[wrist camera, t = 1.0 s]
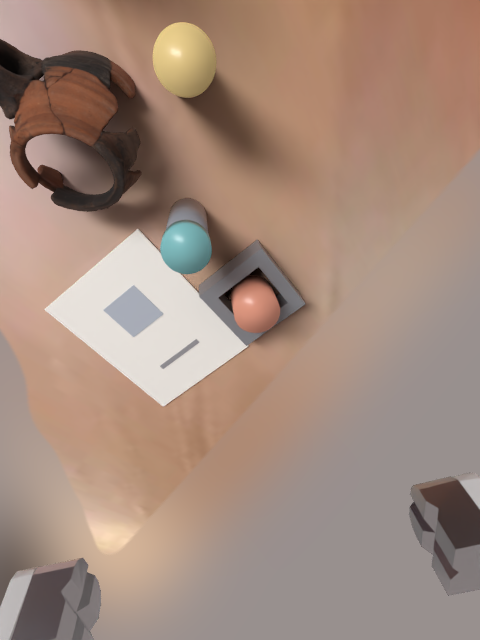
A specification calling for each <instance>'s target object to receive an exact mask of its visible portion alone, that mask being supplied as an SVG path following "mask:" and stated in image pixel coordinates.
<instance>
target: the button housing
mask: <svg viewBox="0 0 480 640" xmlns="http://www.w3.org/2000/svg"><path fill="white" fill-rule="evenodd" d="M258 267H259V268H260V269H261V270H262V272H263V273H264V274H265V275H266V277H267V278H268V279H269V280H270V281H271V283H272V284H273V285H274V286H275V288H276V289H277V290H278V291H279V292H280V294H279V295H277V296H276V298H277V301H278V303H279V306H280V316H279V319H278V321H277V322H276V324H275V325H277V324H278V323H280V322H281V321H282V320H284V319H285V318H287V317H288V316H289V315H291V314H292V313H294V312H295V311H296V310H298V309H299V308H301V307H302V306H303V305H305V302H304V300H303V299H302V297H301V295H300V293H299V292H298V290H297V289H296V288H295V287H294V285H293V284H292V283H291V282H290V280H289V279H288V278H287V276H286V275H285V274H284V273H283V271H282V270H281V269H280V268H279V266H278V265H277V264H276V262H275V261H274V260H273V259H272V257H271V256H270V255H269V254H268V252H267V251H266V250H265V248H264V247H263V246H262V245H261V243H260V242H259V241H258V240H256V241H255V242H254V243H252V244H251V245H250V246H249V247H247V248H246V249H245V250H243V251H242V252H241V253H240V254H238V255H237V256H236V257H235V258H233V259H232V260H231V261H229V262H228V263H227V264H226V265H224V266H223V267H222V268H220V269H219V270H218V271H217V272H215V273H214V274H213V275H211V276H210V277H209V278H208V279H206V280H205V281H204V282H203V283H201V284H200V285H199V297H200V298H201V299H202V300H203V301H204V302H205V303H206V304H207V305H208V306H209V307H210V308H211V310H212V311H213V312H214V313H215V314H216V315H217V316H218V317H219V318H220V319H221V320H222V321H223V322H224V323H225V324H226V325H227V326H228V327H229V328H230V329H231V331H232V332H233V333H234V334H235V335H236V336H237V337H238V338H239V339H240V340H241V341H242V342H243V343H244V344H245V345H246V346H247V345H249V344H250V343H251V342H253V341H254V340H256V339H257V338H258V337H260V336H261V335H263V334H264V333H265V332H267V331H268V330H267V331H264V332H261V333H250V332H247V331H245V330H243V329H241V328H240V327H239V326H238V325H237V323H236V321H235V318H234V313H233V307H232V303H231V302H230V301H229V300H228V299H227V297H226V296H225V295H224V293H225V292H226V291H228V290H229V289H230V288H232V287H233V286H234V285H236V284H237V283H238V282H240V281H241V280H242V279H243V278H245V277H246V276H247V275H249V274H250V273H251V272H253V271H254V270H255V269H257V268H258ZM275 325H274V326H275ZM274 326H273V327H274ZM270 329H271V328H270ZM270 329H269V330H270Z"/></svg>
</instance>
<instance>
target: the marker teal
mask: <svg viewBox="0 0 480 640" xmlns="http://www.w3.org/2000/svg"><path fill="white" fill-rule="evenodd" d="M160 249H161V256H162V258H163V261H164V262H165V264H166V265H167V266H168V267H169V268H170V269H172V270H173V271H175V272H178V273H181V274H192V273H196V272H198V271H200V270H202V269H203V268H204V267H205V266H206V265H207V264H208V262H209V260H210V258H211V253H212V248H211V240H210V236H209V234H208V225H207V216H206V211H205V209H204V207H203V206H202V204H201V203H199V202H198V201H197V200H194V199H191V198H184V199H180V200H178V201H177V202H175V203H174V205H173V206H172V208H171V210H170V214H169V218H168V222H167V227H166V230H165V232H164V234H163V238H162V242H161V248H160Z"/></svg>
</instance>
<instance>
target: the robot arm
mask: <svg viewBox="0 0 480 640" xmlns="http://www.w3.org/2000/svg"><path fill="white" fill-rule="evenodd" d="M410 495H411V497H412V499H413V501H414V502H413V503H412V504H411V506H410V512H409V515H410V520H411V523H412V527H413V530H414V532H415V535H416V537H417V539H418V541H419V543H420V545H421V547H423V548H424V549H426V550H427V551H428V552H430V553H431V554H433V559H432V567H433V569H434V571H435V573H436V574H437V576H438V578H439V580H440V582H441V584H442V586H443V587H444V589H445V591H446V593H447V595H448V596H449V595H454V594H459V593H465V592H470V591H475V590H480V477H479V476H478V475H477V474H475V473H466V474H462V475H458V476H453V477H446V478H442V479H438V480H434V481H429V482H425V483H421V484H417V485H413V486H412V488H411V493H410ZM87 569H88V564H87V563H86V561H85V560H84V559H83V558H79V559H74V560H70V561H65V562H60V563H55V564H51V565H46V566H40V567H35V568H30V569H27V570H21V571H17V572H16V574H15V575H14V576H13V578H12V579H11V581H10V584H9V586H8V589H7V591H6V594H5V596H4V599H3V602H2V604H1V607H0V640H94V639H93V637H92V634H91V632H90V630H91V629H92V627H93V626H94V624H95V623H96V621H97V620H98V618H99V612H100V606H101V590H100V586H99V582H98V580H97V578H96V577H95V575H92V574H90V573H88V572H87Z"/></svg>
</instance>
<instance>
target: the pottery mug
mask: <svg viewBox="0 0 480 640" xmlns="http://www.w3.org/2000/svg"><path fill="white" fill-rule="evenodd" d="M43 76H44V81H40V80H39V79H40V78H41V77H43ZM110 80H112V81H113V82H114V83H115V84H116V85H117V86H118V87H119V88H120V89H121V90H122V91H123V92H124V93H125V94H126V95H127V96H128V97H129V98H133V97H134V96H135V84H134V82H133V80H132V79H131V78H130V76H129V75H128V74H127V73H126V72H125V71H124V70H123V69H122V68H121V67H119V66H118V65H117V64H115V63H114V62H112V61H110V60H109V59H108V58H106V57H104V56H101V55H99V54H96V53H93V52H88V51H71V52H68V53H65V54H63V55H60V56H53V57H50V58H45V59H44V60H43V61H42V60H41V59H38V58H34V57H31V56H29V55H27V54H25V53H23V52H21V51H19V50H18V49H17V48H15V47H14V46H12V45H10V44H9V43H7V42H5V41H3V40H1V39H0V106H1V108H2V109H3V112H4V114H5V116H6V117H7V118H9V119H13V118H15V119H14V123H15V127H14V126H9V132H10V137H11V144H10V156H11V160H12V164H13V165H14V167H15V170H16V171H17V173H18V175H19V176H20V177H21V179H22V180H23V181H24V182H25V183H26V184H27V185H28V186H29V187H30V188H32V189H33V188H35V187H37V185H38V183H40V184H41V185H43V186H44V187H45V188H47V189H49V190H51V191H53V192H54V193H53V194H52V195H51V199H52V201H53V202H54V203H55V204H56V205H58V206H61V207H64V208H68V209H73V210H77V211H87V212H88V211H96V210H98V209H100V210H101V209H105V208H108V207H110V206H111V205H113V204H115V203H116V202H118V201H119V199H120V198H121V196H122V194H123V193H125V192H126V191H127V190H128V189H129V188H130V187H131V186H132V185H133V184H134V183H135V182H136V181H137V180H138V178H139V177H140V175H141V174H142V172H141V171H140V170H137V171H134V172H133V171H129V169H130V168H131V167H132V166H133V164H134V162H135V160H136V157H137V149H138V148H139V146H140V139H139V136H138V133H137V131H136V129H135V128H131V129H129V130H128V131H127V132H126V133H111V132H105V131H103V129H104V128H105V127H106V125H107V124H108V122H109V121H110V120H111V118H112V117H113V116H114V114H116V113H117V111H118V102H117V99H116V97H115V96H114V95H113V94H112V93H111V92H110V91H109V88H110ZM43 134H60V135H67V136H69V137H72V138H75V139H77V140H80V141H82V142H84V143H85V144H87V145H89V146H91V147H93V148H95V150H96V151H97V152H98V153H99V154H100V155H101V156H102V157H103V158H104V159H105V160H106V161H107V163H108V164H109V166H110V168H111V170H112V173H113V176H114V184H113V187H112V188H111V189H110V190H109V191H108V192H106V193H103V194H98V195H89V194H83V193H80V192H77V191H75V190H73V189H70V188H69V187H66V186H64V184H63V179H62V176H61V174H60V173H59V172H58V171H57V170H54V169H52V168H50V167H47V166H45V165H40V166H39V168H38V172H37V171H36V170H35V169H34V168H33V167H32V166H31V164H30V163H29V161H28V159H27V157H26V154H25V148H26V144H27V142H28V141H29V140H30V139H32V138H34V137H36V136H39V135H43Z"/></svg>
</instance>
